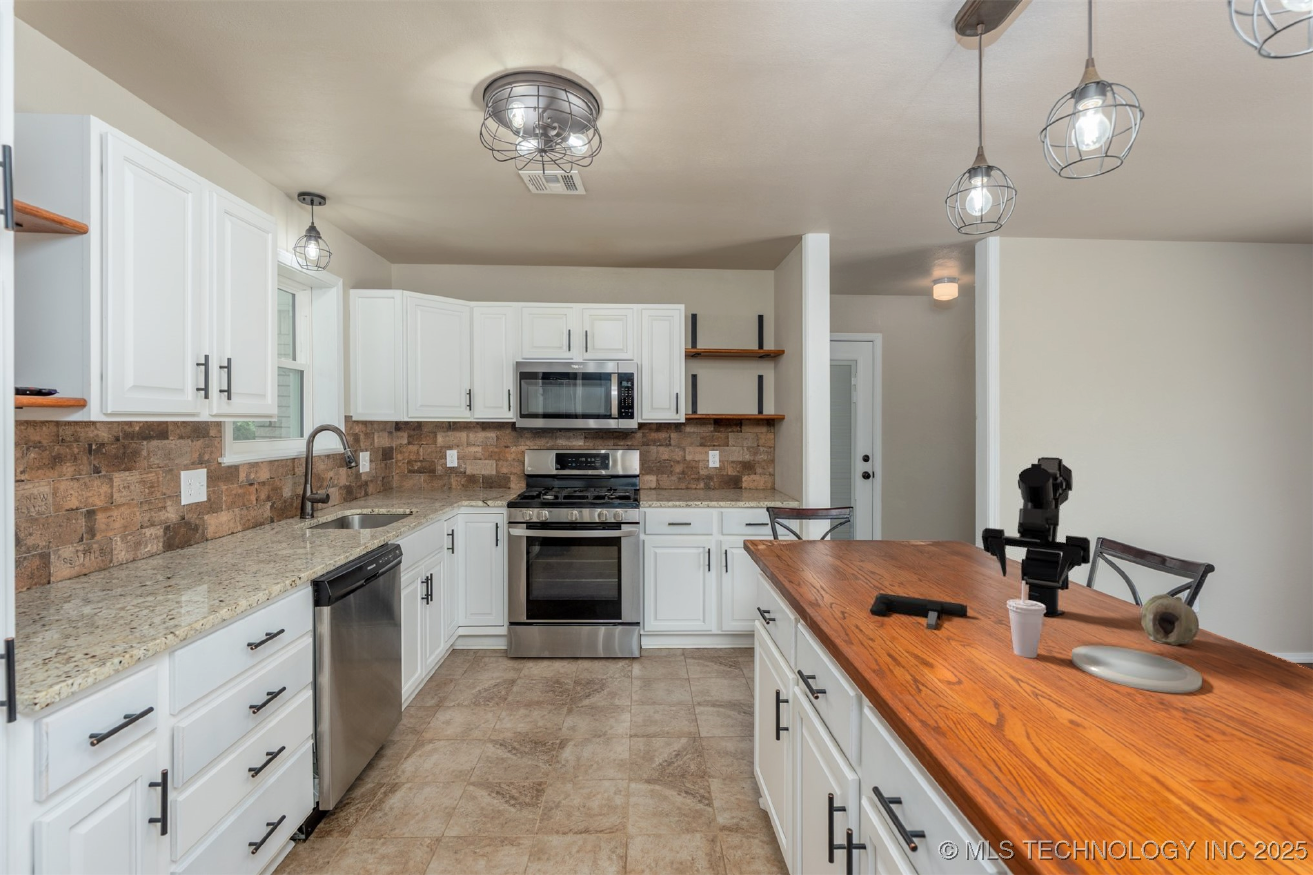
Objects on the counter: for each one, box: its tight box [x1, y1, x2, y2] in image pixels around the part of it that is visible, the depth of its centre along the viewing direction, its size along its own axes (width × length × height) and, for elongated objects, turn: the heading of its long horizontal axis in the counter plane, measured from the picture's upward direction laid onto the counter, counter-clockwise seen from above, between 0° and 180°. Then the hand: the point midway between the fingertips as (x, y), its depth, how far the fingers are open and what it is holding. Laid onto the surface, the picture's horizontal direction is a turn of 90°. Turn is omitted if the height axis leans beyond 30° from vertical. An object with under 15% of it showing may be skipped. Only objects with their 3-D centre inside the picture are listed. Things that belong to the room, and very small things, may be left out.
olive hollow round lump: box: [1140, 593, 1200, 646], centre depth 121 cm, size 9×8×10 cm
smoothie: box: [1006, 580, 1046, 659], centre depth 113 cm, size 6×6×14 cm
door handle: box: [869, 592, 968, 631], centre depth 136 cm, size 3×20×16 cm
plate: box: [1071, 644, 1203, 694], centre depth 106 cm, size 18×18×1 cm
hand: (1030, 579), depth 119 cm, fingers open, 9 cm apart
